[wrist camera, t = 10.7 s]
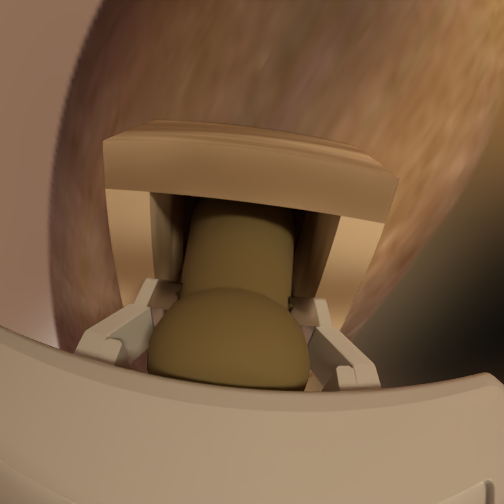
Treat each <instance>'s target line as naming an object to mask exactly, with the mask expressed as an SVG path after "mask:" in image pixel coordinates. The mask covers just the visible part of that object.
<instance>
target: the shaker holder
mask: <svg viewBox="0 0 504 504" xmlns="http://www.w3.org/2000/svg"><path fill="white" fill-rule="evenodd" d="M103 161H104V180H105V193H106V204H107V213H108V222H109V230H110V237H111V244H112V251H113V257H114V263H115V269H116V274H117V279H118V284H119V289H120V294H121V299H122V303H123V308H124V307H125V306H127V305H129V304H134V301H135V299H136V297H137V295H138V293H139V291H140V289H141V287H142V285H143V283H144V281H145V279H146V278H148V277H150V278H155V279H162V280H168V281H174V282H180V283H181V279H182V272H183V266H184V261H183V224H184V195H190V196H200V197H209V198H218V199H227V200H235V201H243V202H251V203H259V204H266V205H274V206H281V207H288V208H295V209H301V210H306V211H305V215H304V220H303V224H302V228H301V232H300V236H299V241H298V245H297V249H296V253H295V257H294V261H293V270H292V286H291V296H297V297H308V298H325V299H326V302H327V306H328V309H329V313H330V317H331V321H332V325H333V328H337V329H338V330H339V331H340V329H341V327H342V325H343V323H344V320H345V318H346V316H347V314H348V312H349V310H350V308H351V306H352V303H353V301H354V299H355V297H356V295H357V292H358V290H359V288H360V286H361V283H362V281H363V279H364V276H365V274H366V271H367V269H368V267H369V264H370V262H371V259H372V257H373V254H374V252H375V249H376V246H377V244H378V241H379V239H380V236H381V233H382V230H383V228H384V225H385V222H386V219H387V216H388V213H389V211H390V208H391V205H392V202H393V198H394V195H395V192H396V189H397V186H398V183H399V178H398V177H397V176H395V175H394V174H393V173H392V172H390V171H389V170H388V169H386V168H385V167H384V166H382V165H381V164H379V163H378V162H377V161H375V160H374V159H372V158H371V157H370V156H368V155H367V154H365V153H364V152H362V151H361V150H360V149H358V148H357V147H355V146H353V145H349V144H344V143H340V142H336V141H331V140H327V139H322V138H317V137H312V136H307V135H301V134H296V133H290V132H284V131H277V130H271V129H264V128H256V127H248V126H240V125H230V124H220V123H208V122H193V121H171V120H154V121H151V122H148V123H145V124H143V125H140V126H137V127H135V128H132V129H130V130H127V131H125V132H122V133H120V134H117V135H115V136H113V137H110V138H108V139H106V140H104V141H103Z"/></svg>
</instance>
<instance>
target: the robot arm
mask: <svg viewBox="0 0 504 504" xmlns="http://www.w3.org/2000/svg"><path fill="white" fill-rule="evenodd" d="M182 287H183V283H180V282H174V281H168V280H162V279H155V278H150V277H148V278H146V279H145V281H144V283H143V285H142V287H141V289H140V291H139V293H138V295H137V297H136V299H135V301H134V304H129V305H127V306H125V307H124V308H122V309H120V310H119V311H117V312H115V313H114V314H112V315H110V316H109V317H107V318H105V319H104V320H102V321H100V322H99V323H97V324H96V325H94V326H92V327H91V328H89V329H87V330H86V331H85V332H84V334H83V336H82V338H81V340H80V342H79V344H78V346H77V348H76V350H75V352H74V354H72V353H69V352H66V351H63V350H60V349H57V348H55V347H52V346H49V345H46V344H43V343H41V342H38V341H36V340H33V339H30V338H28V337H26V336H23V335H21V334H19V333H16V332H14V331H12V330H9V329H7V328H5V327H3V326H1V325H0V504H504V385H503V384H502V383H501V382H500V381H498V380H497V379H496V378H495V377H494V376H492V375H491V374H490V373H480V374H476V375H472V376H467V377H463V378H458V379H452V380H447V381H441V382H436V383H429V384H423V385H415V386H406V387H398V388H387V389H381V386H380V382H379V378H378V375H377V372H376V368H375V365H374V364H373V363H372V362H371V361H370V360H369V359H368V358H367V357H366V356H365V355H364V354H363V353H362V352H361V351H360V350H359V349H358V348H356V346H355V345H354V344H353V343H351V342H350V341H349V340H348V339H347V338H346V337H345V336H344V335H343V334H342V333H341V332H340V331H339V330H338V329H337V328H333V325H332V321H331V317H330V313H329V309H328V306H327V302H326V299H325V298H308V297H297V296H289V312H290V313H291V314H292V316H293V317H294V318H295V319H296V320H297V321H298V323H299V325H300V327H301V329H302V331H303V333H304V335H305V339H306V343H307V347H308V351H309V357H310V364H311V365H310V369H311V370H312V372H313V373H314V375H315V376H316V377H317V378H318V380H319V381H320V382H321V384H322V386H323V387H324V388H323V390H322V391H321V392H308V391H276V390H260V389H247V388H236V387H227V386H219V385H211V384H203V383H197V382H190V381H184V380H178V379H172V378H167V377H162V376H157V375H152V374H147V373H142V372H138V371H134V370H131V369H130V366H129V365H130V364H131V363H132V362H133V361H134V360H135V359H136V358H138V357H139V356H140V355H141V354H142V353H143V352H144V351H145V350H146V349H148V347H149V340H150V338H151V335H152V332H153V330H154V327H155V326H156V324H157V323H158V322H159V321H160V319H161V318H162V317H163V315H164V314H165V313H166V312H167V310H168V309H169V308H170V307H171V305H172V304H173V303H174V302H176V301H178V300H179V299H180V295H181V291H182Z"/></svg>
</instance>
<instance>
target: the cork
mask: <svg viewBox="0 0 504 504" xmlns="http://www.w3.org/2000/svg"><path fill="white" fill-rule="evenodd" d="M294 234H295V220H294V216H293V212H292V208H288V207H281V206H274V205H266V204H259V203H251V202H243V201H235V200H227V199H218V198H209V197H201V198H200V199H199V200H198V202H197V203H196V205H195V208H194V211H193V215H192V219H191V224H190V229H189V235H188V241H187V247H186V253H185V259H184V266H183V272H182V279H181V283H183V287H182V291H181V295H180V299H179V300H178V301H176V302H174V303H173V304H172V305H171V307H170V308H169V309H168V310H167V312H166V313H165V314H164V315H163V317H162V318H161V319H160V321H159V322H158V323H157V324H156V326H155V327H154V330H153V332H152V335H151V338H150V340H149V347H148V359H147V370H148V373H149V374H152V375H157V376H162V377H167V378H172V379H178V380H184V381H190V382H197V383H203V384H211V385H219V386H227V387H236V388H247V389H260V390H276V391H304V390H305V387H306V384H307V381H308V377H309V371H310V365H311V364H310V357H309V351H308V347H307V343H306V339H305V335H304V333H303V331H302V329H301V327H300V325H299V323H298V321H297V320H296V319H295V318H294V317H293V316H292V314H291V313H290V312H289V296H291V286H292V270H293V253H294Z"/></svg>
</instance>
